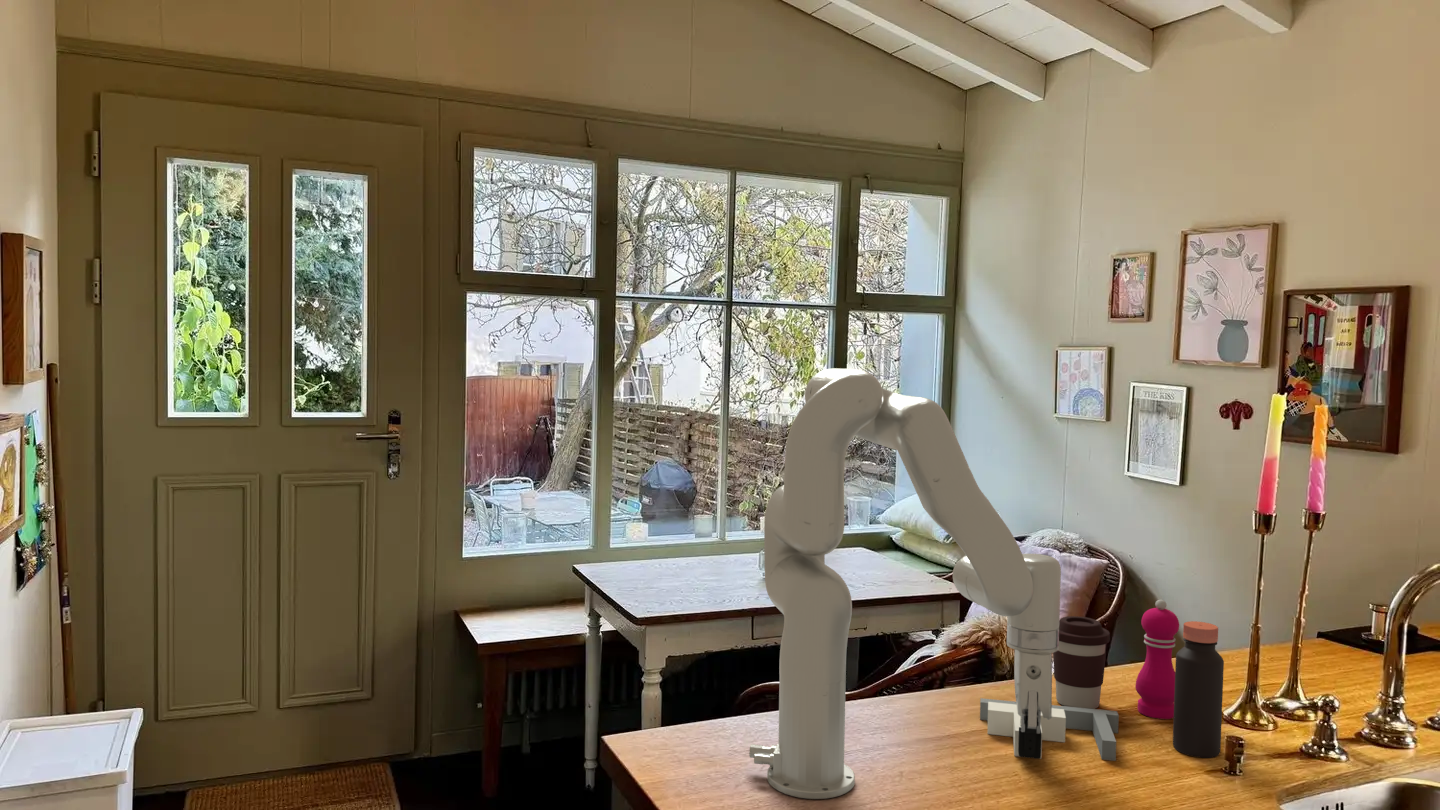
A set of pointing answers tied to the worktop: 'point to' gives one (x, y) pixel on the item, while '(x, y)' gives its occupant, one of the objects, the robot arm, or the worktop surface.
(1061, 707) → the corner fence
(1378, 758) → the worktop surface
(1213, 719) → the bottle
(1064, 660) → the coffee cup
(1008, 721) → the t block
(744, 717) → the worktop surface
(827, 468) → the robot arm
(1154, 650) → the pepper mill
